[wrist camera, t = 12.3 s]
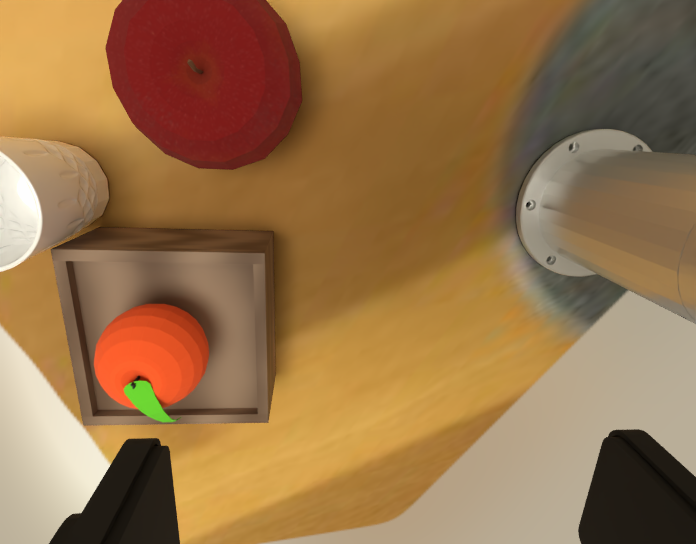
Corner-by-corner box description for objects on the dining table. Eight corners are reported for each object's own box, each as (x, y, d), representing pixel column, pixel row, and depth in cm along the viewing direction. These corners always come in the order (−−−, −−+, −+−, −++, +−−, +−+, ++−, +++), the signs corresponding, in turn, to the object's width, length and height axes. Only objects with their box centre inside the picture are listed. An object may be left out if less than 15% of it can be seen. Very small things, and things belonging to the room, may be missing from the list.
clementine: (240, 365, 33) (221, 426, 26) (157, 395, 33) (118, 463, 26) (192, 274, 30) (158, 317, 23) (103, 307, 30) (44, 359, 24)
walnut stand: (273, 231, 36) (264, 253, 29) (275, 375, 40) (268, 422, 34) (99, 227, 34) (50, 249, 28) (121, 376, 39) (83, 425, 32)
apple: (125, 81, 31) (23, 54, 20) (224, -32, 30) (171, -128, 19) (237, 190, 34) (201, 218, 23) (332, 94, 33) (342, 75, 22)
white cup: (122, 237, 35) (51, 276, 25) (20, 232, 34) (-92, 270, 25) (112, 136, 32) (29, 139, 23) (2, 129, 32) (-131, 128, 22)
